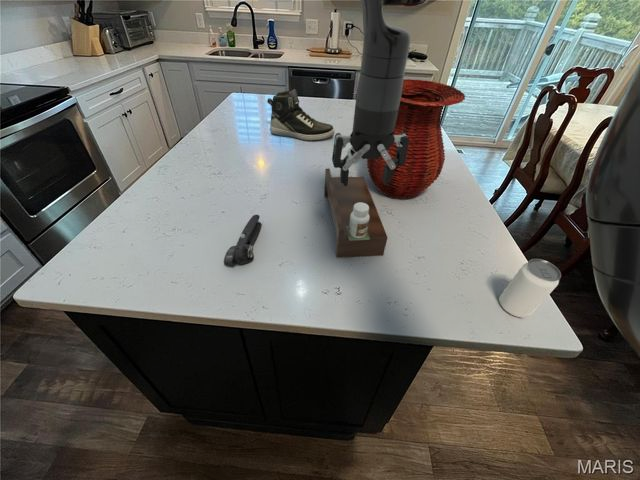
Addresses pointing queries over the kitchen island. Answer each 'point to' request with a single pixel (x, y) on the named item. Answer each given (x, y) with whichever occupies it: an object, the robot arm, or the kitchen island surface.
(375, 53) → the robot arm
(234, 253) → the can opener
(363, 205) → the pill bottle
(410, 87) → the vase
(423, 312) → the kitchen island surface
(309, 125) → the athletic shoe
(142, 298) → the kitchen island surface
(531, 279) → the can
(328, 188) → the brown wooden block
